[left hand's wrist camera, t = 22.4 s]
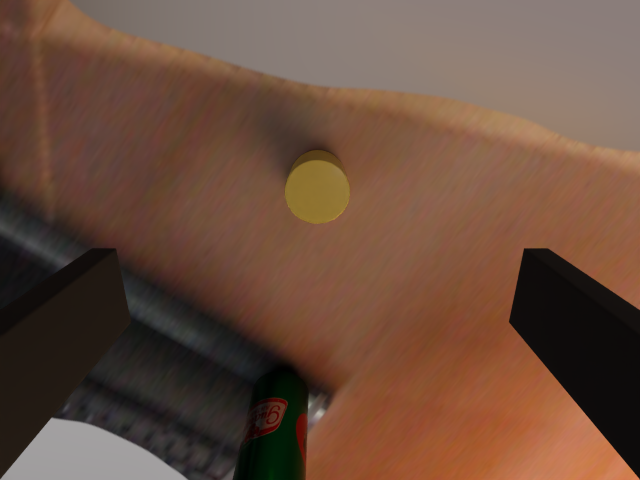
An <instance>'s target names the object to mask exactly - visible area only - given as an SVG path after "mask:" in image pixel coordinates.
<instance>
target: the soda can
mask: <svg viewBox="0 0 640 480" xmlns="http://www.w3.org/2000/svg"><path fill="white" fill-rule="evenodd" d="M308 398H309V392H308V388H307V386H306V384H305V382H304V381H303V380H302V379H301V378H300V377H298V376H297V375H295V374H293V373H290V372H287V371H274V372H270V373H268V374H265V375H264V376H262V377H261V378H259V379H258V381H257V382H256V383H255V385H254V388H253V392H252V397H251V401H250V405H249V410H248V414H247V419H246V423H245V427H244V432H243V436H242V441H241V445H240V449H239V454H238V458H237V463H236V467H235V471H234V476H233V480H305V479H306V452H307V425H308Z"/></svg>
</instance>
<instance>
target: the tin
mask: <svg viewBox="0 0 640 480" xmlns="http://www.w3.org/2000/svg"><path fill="white" fill-rule="evenodd" d="M349 197H350V186H349V182H348V179H347V176H346V173H345V170H344V167H343V165H342V163H341V162H340V161H339V159H338V158H337V157H335V156H334V155H333V154H331V153H329V152H326V151H322V150H313V151H309V152H306V153H304V154H303V155H301V156H300V157H299V158H298V159H297V160H296V161H295V162H294V164H293V166H292V168H291V171H290V173H289V176H288V178H287V181H286V184H285V198H286V202H287V204H288V206H289V208H290V210H291V211H292V212H293V213H294V214H295V215H296V216H297V217H298V218H300V219H301V220H303V221H306V222H309V223H315V224H319V223H326V222H329V221H331V220H333V219H335V218H337V217H338V216H339V215H340V214H341V213H342V212H343V211H344V209H345V208H346V206H347V204H348V201H349Z"/></svg>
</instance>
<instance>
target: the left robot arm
mask: <svg viewBox="0 0 640 480" xmlns="http://www.w3.org/2000/svg"><path fill="white" fill-rule="evenodd" d="M130 323H131V319H130V315H129V310H128V305H127V300H126V295H125V290H124V286H123V281H122V276H121V271H120V266H119V261H118V256H117V252H116V248H92V249H91V250H89V251H88V252H86V253H85V254H83V255H82V256H80V257H79V258H77V259H76V260H74V261H73V262H71V263H70V264H68V265H67V266H65V267H64V268H62V269H61V270H59V271H58V272H56V273H55V274H53V275H52V276H50V277H49V278H47V279H46V280H44V281H43V282H41V283H40V284H38V285H37V286H36V287H34V288H33V289H31V290H30V291H28V292H27V293H25V294H24V295H22V296H21V297H19V298H18V299H16V300H15V301H13V302H12V303H10V304H9V305H7V306H6V307H4V308H3V309H1V310H0V479H1V478H2V476H3V475H4V474H5V473H6V472H7V470H8V469H9V468H10V467H11V466H12V464H13V463H14V462H15V461H16V460H17V458H18V457H19V456H20V455H21V453H22V452H23V451H24V450H25V449H26V448H27V446H28V445H29V444H30V443H31V442H32V440H33V439H34V438H35V437H36V435H37V434H38V433H39V432H40V431H41V430H42V428H43V427H44V426H45V425H46V424H47V422H48V421H49V420H50V419H51V418H52V416H53V415H54V414H55V413H56V412H57V410H58V409H59V408H60V407H61V406H62V404H63V403H64V402H65V401H66V400H67V398H68V397H69V396H70V395H71V394H72V392H73V391H74V390H75V389H76V388H77V386H78V385H79V384H80V383H81V382H82V380H83V379H84V378H85V377H86V376H87V374H88V373H89V372H90V371H91V370H92V368H93V367H94V366H95V365H96V364H97V362H98V361H99V360H100V359H101V358H102V356H103V355H104V354H105V353H106V352H107V350H108V349H109V348H110V347H111V346H112V344H113V343H114V342H115V341H116V339H117V338H118V337H119V336H120V335H121V333H122V332H123V331H124V330H125V329H126V327H127V326H128V325H129V324H130ZM509 323H510V324H511V325H512V326H513V327H514V329H515V330H516V331H517V332H518V333H519V335H520V336H521V337H522V338H523V339H524V341H525V342H526V343H527V344H528V346H529V347H530V348H531V349H532V350H533V352H534V353H535V354H536V355H537V356H538V358H539V359H540V360H541V361H542V362H543V364H544V365H545V366H546V367H547V368H548V370H549V371H550V372H551V373H552V374H553V376H554V377H555V378H556V379H557V380H558V382H559V383H560V384H561V385H562V386H563V388H564V389H565V390H566V391H567V392H568V394H569V395H570V396H571V397H572V398H573V400H574V401H575V402H576V403H577V404H578V406H579V407H580V408H581V409H582V410H583V412H584V413H585V414H586V415H587V416H588V418H589V419H590V420H591V421H592V422H593V424H594V425H595V426H596V427H597V428H598V430H599V431H600V432H601V433H602V434H603V436H604V437H605V438H606V439H607V440H608V442H609V443H610V444H611V445H612V446H613V448H614V449H615V450H616V451H617V452H618V454H619V455H620V456H621V457H622V458H623V460H624V461H625V462H626V463H627V464H628V466H629V467H630V468H631V469H632V470H633V472H634V473H635V474H636V475H637V476H638V478H639V479H640V310H639V309H637V308H636V307H634V306H633V305H631V304H630V303H628V302H627V301H625V300H624V299H622V298H621V297H619V296H618V295H616V294H615V293H613V292H612V291H610V290H609V289H607V288H606V287H604V286H603V285H602V284H600V283H599V282H597V281H596V280H594V279H593V278H591V277H590V276H588V275H587V274H585V273H584V272H582V271H581V270H579V269H578V268H576V267H575V266H573V265H572V264H570V263H569V262H567V261H566V260H564V259H563V258H561V257H560V256H558V255H557V254H555V253H554V252H552V251H551V250H549V249H548V248H524V252H523V256H522V261H521V266H520V271H519V276H518V281H517V285H516V290H515V295H514V300H513V305H512V310H511V315H510V319H509Z"/></svg>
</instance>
